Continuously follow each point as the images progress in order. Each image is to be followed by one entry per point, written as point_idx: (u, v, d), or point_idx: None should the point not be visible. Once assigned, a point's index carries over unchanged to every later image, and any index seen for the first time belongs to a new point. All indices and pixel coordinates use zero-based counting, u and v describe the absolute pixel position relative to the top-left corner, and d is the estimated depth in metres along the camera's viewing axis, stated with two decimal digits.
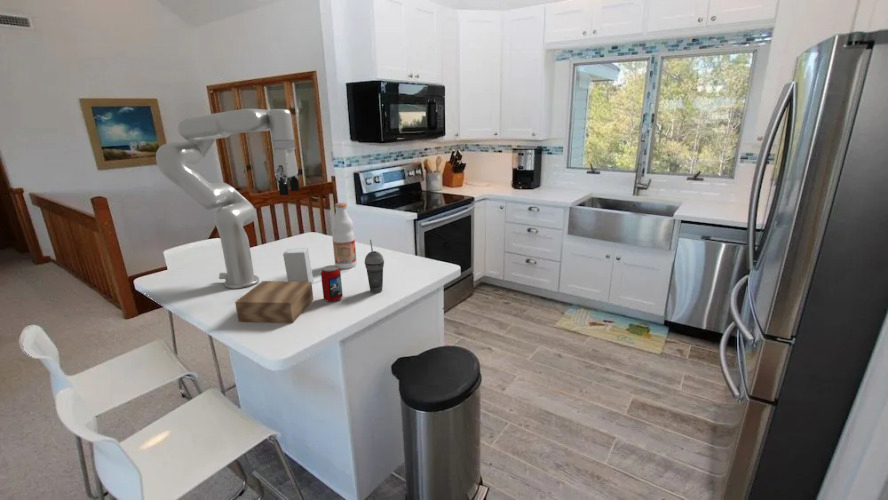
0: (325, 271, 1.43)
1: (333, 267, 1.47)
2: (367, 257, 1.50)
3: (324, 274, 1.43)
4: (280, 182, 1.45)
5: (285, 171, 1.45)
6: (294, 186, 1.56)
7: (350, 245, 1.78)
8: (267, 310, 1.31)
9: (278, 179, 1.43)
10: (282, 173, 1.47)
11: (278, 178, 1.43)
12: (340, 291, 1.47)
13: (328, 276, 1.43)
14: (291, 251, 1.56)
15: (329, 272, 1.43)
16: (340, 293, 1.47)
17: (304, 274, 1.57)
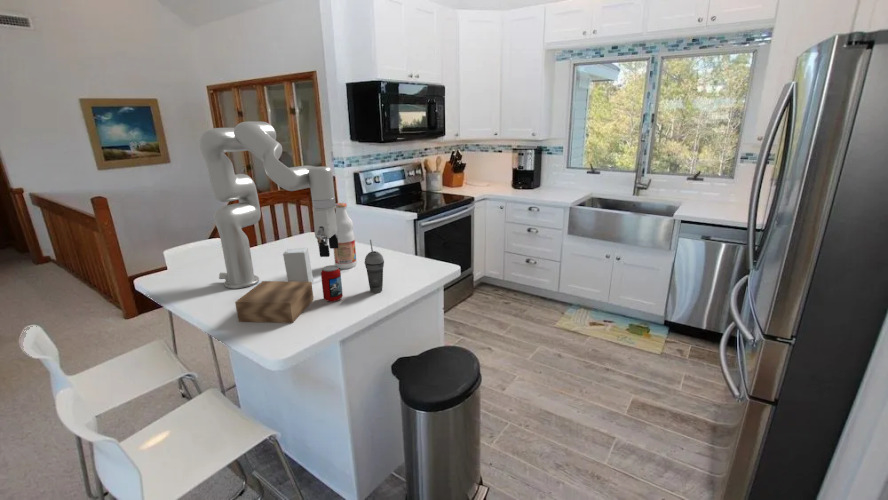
0: (325, 271, 1.43)
1: (333, 267, 1.47)
2: (367, 257, 1.50)
3: (324, 274, 1.43)
4: (321, 244, 1.36)
5: (326, 232, 1.36)
6: (333, 244, 1.47)
7: (350, 245, 1.78)
8: (267, 310, 1.31)
9: (319, 241, 1.35)
10: (322, 233, 1.38)
11: (319, 241, 1.34)
12: (340, 291, 1.47)
13: (328, 276, 1.43)
14: (291, 251, 1.56)
15: (329, 272, 1.43)
16: (340, 293, 1.47)
17: (304, 274, 1.57)
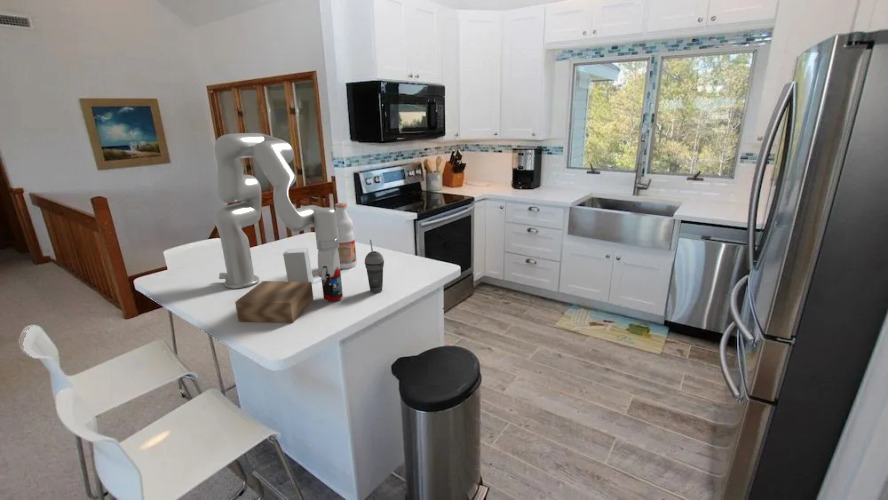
0: None
1: None
2: (367, 257, 1.50)
3: None
4: (325, 284, 1.42)
5: (329, 272, 1.41)
6: None
7: (350, 245, 1.78)
8: (267, 310, 1.31)
9: (324, 282, 1.40)
10: (326, 273, 1.43)
11: (324, 281, 1.40)
12: (340, 291, 1.47)
13: None
14: (291, 251, 1.56)
15: None
16: (340, 293, 1.47)
17: (304, 274, 1.57)
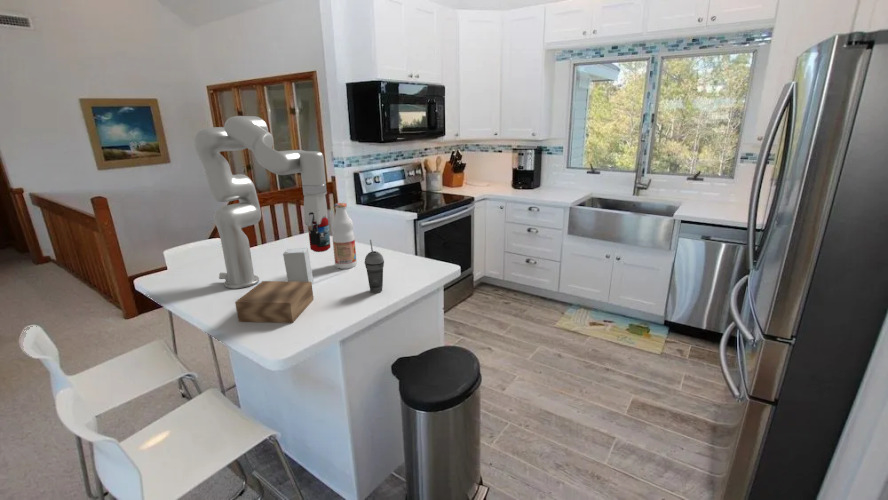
0: None
1: None
2: (367, 257, 1.50)
3: None
4: (312, 232, 1.35)
5: (316, 218, 1.34)
6: None
7: (350, 245, 1.78)
8: (267, 310, 1.31)
9: (310, 229, 1.34)
10: (313, 220, 1.36)
11: (310, 228, 1.33)
12: (328, 241, 1.40)
13: None
14: (291, 251, 1.56)
15: None
16: (328, 243, 1.41)
17: (304, 274, 1.57)
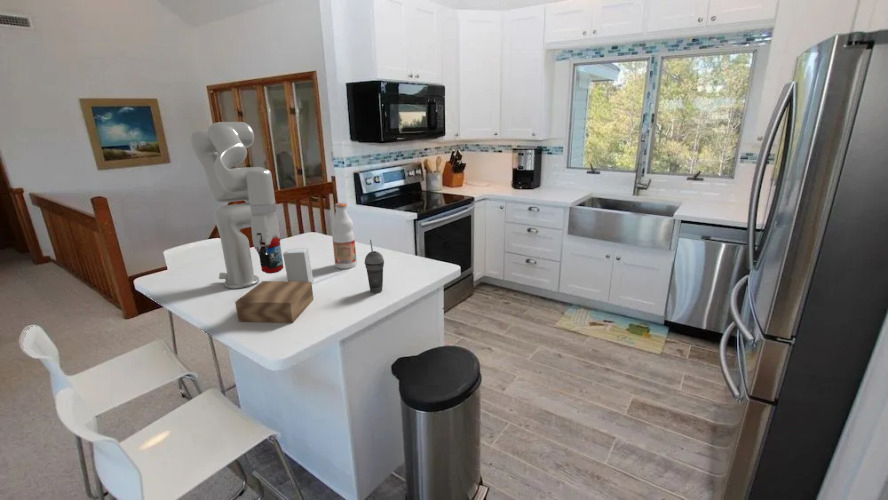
0: None
1: None
2: (367, 257, 1.50)
3: None
4: (261, 253, 1.29)
5: (264, 239, 1.28)
6: None
7: (350, 245, 1.78)
8: (267, 310, 1.31)
9: (258, 251, 1.27)
10: (262, 241, 1.30)
11: (258, 249, 1.27)
12: (279, 262, 1.34)
13: (264, 244, 1.30)
14: (291, 251, 1.56)
15: None
16: (279, 264, 1.34)
17: (304, 274, 1.57)
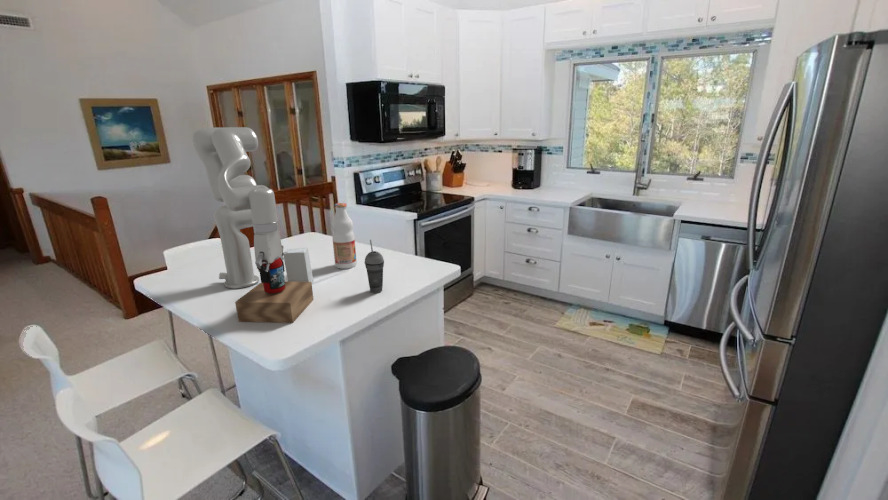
0: (264, 261, 1.33)
1: None
2: (367, 257, 1.50)
3: None
4: (261, 270, 1.29)
5: (267, 258, 1.30)
6: None
7: (350, 245, 1.78)
8: (267, 310, 1.31)
9: (259, 268, 1.28)
10: (264, 258, 1.32)
11: (259, 267, 1.28)
12: (282, 283, 1.37)
13: None
14: (291, 251, 1.56)
15: None
16: (282, 285, 1.37)
17: (304, 274, 1.57)
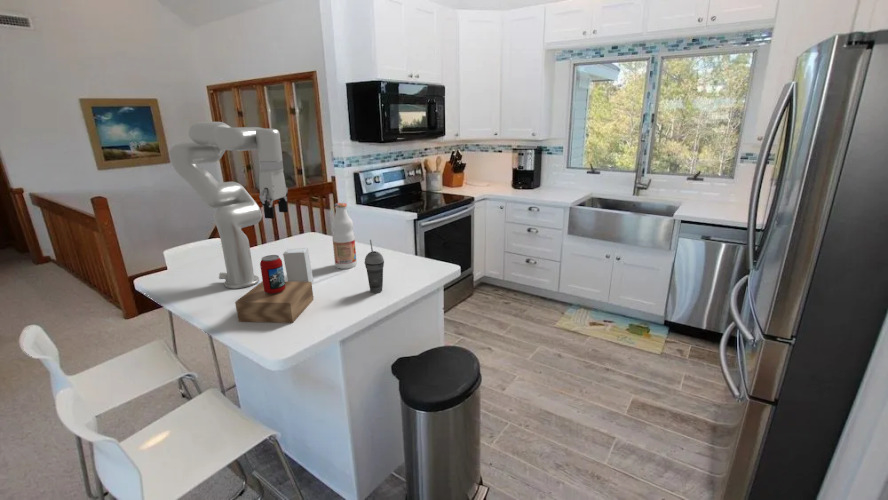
0: (264, 261, 1.33)
1: (274, 257, 1.36)
2: (367, 257, 1.50)
3: (263, 263, 1.33)
4: (265, 205, 1.38)
5: (271, 194, 1.38)
6: (282, 207, 1.49)
7: (350, 245, 1.78)
8: (267, 310, 1.31)
9: (262, 202, 1.37)
10: (268, 195, 1.40)
11: (262, 201, 1.36)
12: (282, 283, 1.37)
13: (267, 266, 1.32)
14: (291, 251, 1.56)
15: (268, 262, 1.33)
16: (282, 285, 1.37)
17: (304, 274, 1.57)
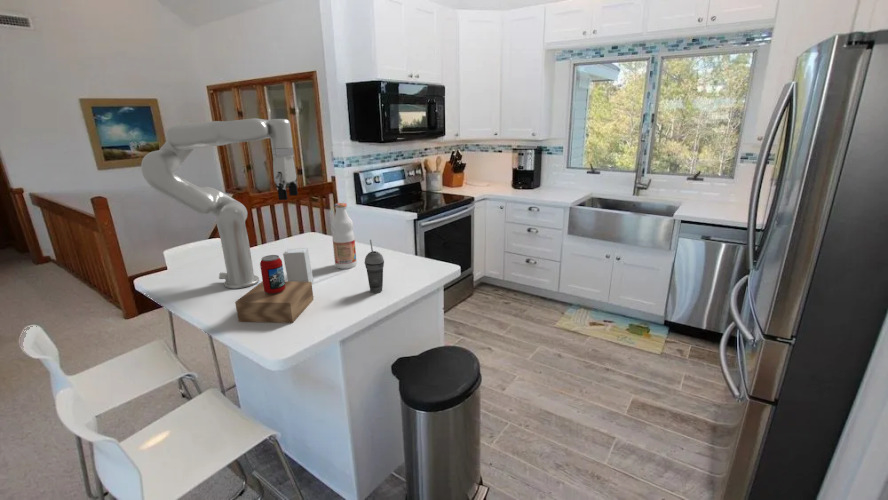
0: (264, 261, 1.33)
1: (274, 257, 1.36)
2: (367, 257, 1.50)
3: (263, 263, 1.33)
4: (279, 187, 1.54)
5: (284, 177, 1.54)
6: (292, 191, 1.65)
7: (350, 245, 1.78)
8: (267, 310, 1.31)
9: (277, 185, 1.53)
10: (281, 179, 1.56)
11: (277, 184, 1.52)
12: (282, 283, 1.37)
13: (267, 266, 1.32)
14: (291, 251, 1.56)
15: (268, 262, 1.33)
16: (282, 285, 1.37)
17: (304, 274, 1.57)
